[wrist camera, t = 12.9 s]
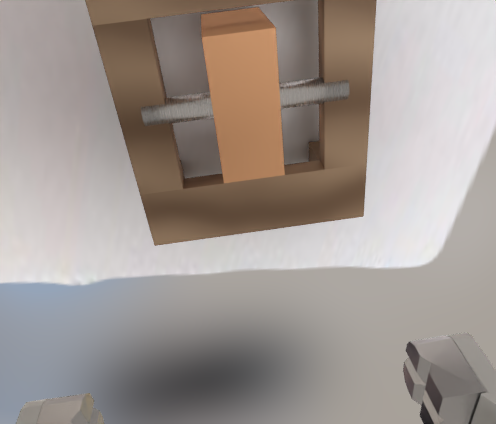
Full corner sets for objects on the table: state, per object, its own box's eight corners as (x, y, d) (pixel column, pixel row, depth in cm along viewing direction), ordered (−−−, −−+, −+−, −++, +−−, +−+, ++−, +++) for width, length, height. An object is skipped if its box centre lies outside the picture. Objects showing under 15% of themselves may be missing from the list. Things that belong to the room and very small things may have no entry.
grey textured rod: (142, 97, 27) (139, 105, 26) (342, 71, 28) (349, 78, 26) (148, 121, 28) (145, 130, 27) (341, 95, 28) (348, 103, 27)
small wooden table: (102, -71, 29) (64, -72, 21) (331, -98, 30) (383, -111, 21) (163, 181, 40) (154, 245, 32) (329, 158, 41) (363, 216, 32)
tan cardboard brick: (200, 14, 29) (201, 37, 23) (258, 7, 29) (275, 27, 23) (219, 135, 34) (223, 183, 28) (268, 128, 34) (284, 175, 28)
